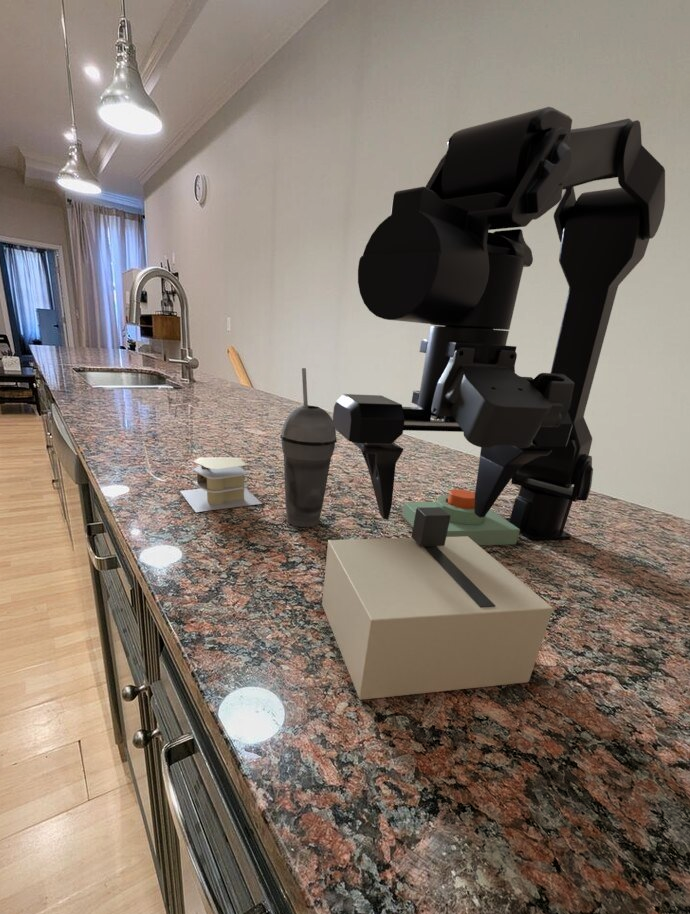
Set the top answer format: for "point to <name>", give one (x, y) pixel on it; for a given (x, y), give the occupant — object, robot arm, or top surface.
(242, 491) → the stacked layers on plate
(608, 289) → the robot arm
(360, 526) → the top surface
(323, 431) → the beverage cup
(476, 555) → the beige slider box
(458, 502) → the button
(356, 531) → the top surface
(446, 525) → the toaster slider
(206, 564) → the top surface
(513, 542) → the block
